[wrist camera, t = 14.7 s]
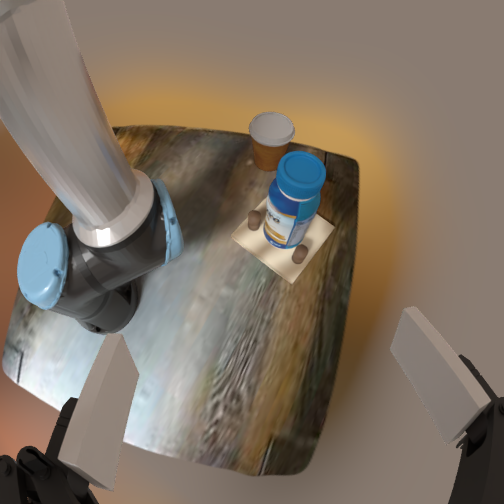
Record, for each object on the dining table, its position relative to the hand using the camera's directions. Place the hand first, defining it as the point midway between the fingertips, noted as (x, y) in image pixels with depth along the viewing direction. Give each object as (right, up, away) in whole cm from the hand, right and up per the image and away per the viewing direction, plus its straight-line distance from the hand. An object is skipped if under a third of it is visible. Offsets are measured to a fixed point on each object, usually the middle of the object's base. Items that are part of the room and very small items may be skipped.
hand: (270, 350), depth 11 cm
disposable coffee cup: (+3, +26, +51) cm, 57 cm away
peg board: (+6, +8, +44) cm, 45 cm away
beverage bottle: (+5, +8, +42) cm, 44 cm away
